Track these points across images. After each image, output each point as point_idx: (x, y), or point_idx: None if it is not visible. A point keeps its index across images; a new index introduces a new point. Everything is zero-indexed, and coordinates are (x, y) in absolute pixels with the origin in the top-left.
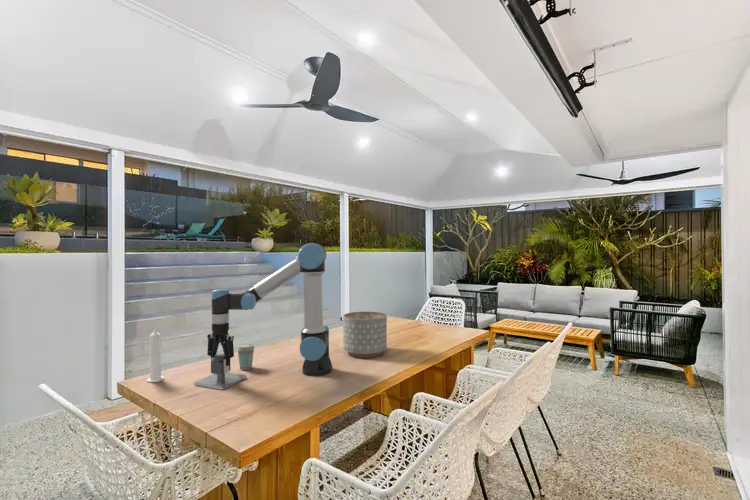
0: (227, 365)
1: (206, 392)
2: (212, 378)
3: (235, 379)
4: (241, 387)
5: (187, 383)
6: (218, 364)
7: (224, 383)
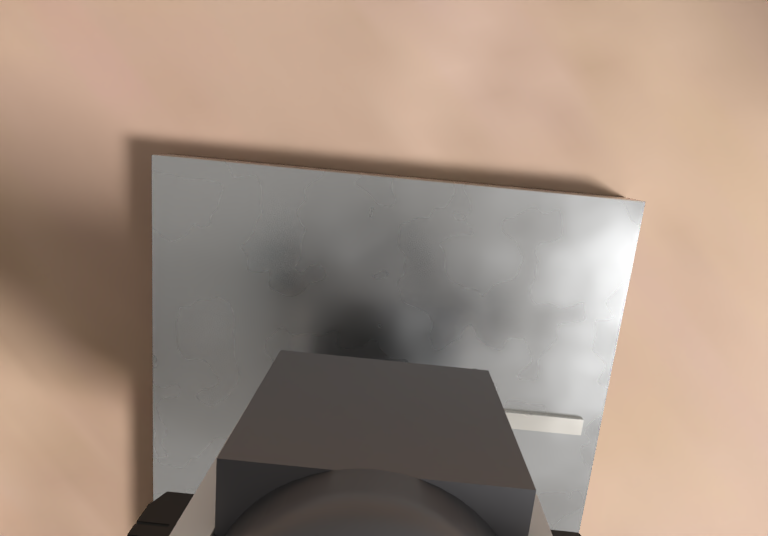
0: (167, 497)
1: (305, 25)
2: None
3: (173, 419)
4: (15, 288)
5: (764, 234)
6: (305, 439)
7: (205, 261)
